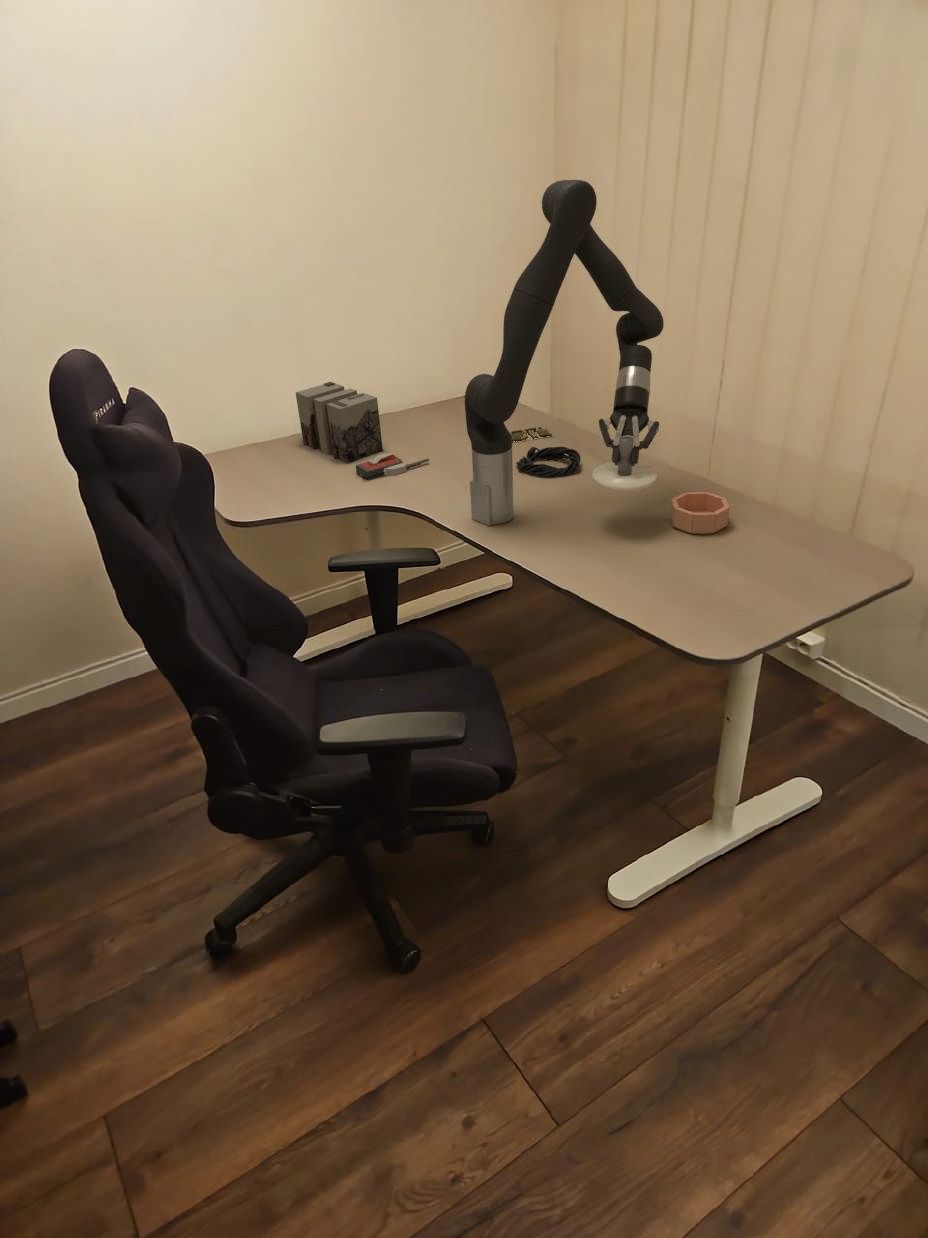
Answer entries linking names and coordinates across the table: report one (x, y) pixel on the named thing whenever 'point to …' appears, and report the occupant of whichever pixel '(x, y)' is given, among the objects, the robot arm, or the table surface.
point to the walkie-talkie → (384, 466)
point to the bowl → (699, 512)
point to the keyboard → (531, 431)
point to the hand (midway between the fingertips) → (624, 464)
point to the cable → (550, 454)
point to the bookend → (340, 421)
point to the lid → (624, 471)
